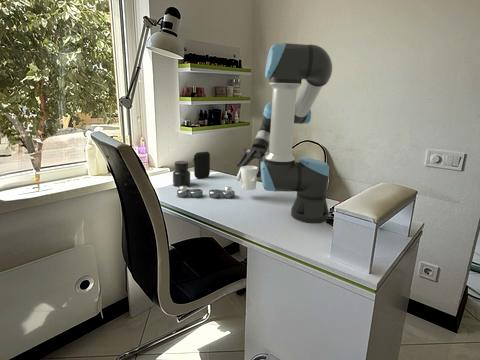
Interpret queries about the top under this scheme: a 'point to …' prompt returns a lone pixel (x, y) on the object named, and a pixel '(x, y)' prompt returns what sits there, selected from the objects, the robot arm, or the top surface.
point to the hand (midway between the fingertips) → (245, 181)
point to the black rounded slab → (201, 164)
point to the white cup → (248, 177)
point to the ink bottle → (181, 174)
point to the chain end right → (222, 193)
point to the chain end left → (189, 192)
